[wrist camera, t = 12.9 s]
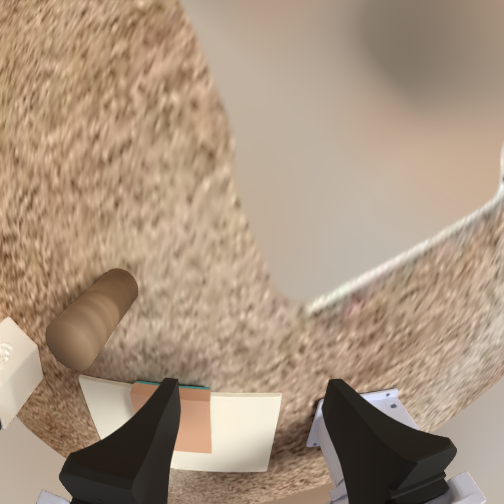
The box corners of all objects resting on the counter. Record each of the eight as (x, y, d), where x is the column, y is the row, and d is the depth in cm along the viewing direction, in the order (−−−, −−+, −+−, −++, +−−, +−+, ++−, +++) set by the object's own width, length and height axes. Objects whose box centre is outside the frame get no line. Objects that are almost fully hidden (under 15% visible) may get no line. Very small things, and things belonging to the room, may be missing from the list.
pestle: (136, 269, 21) (86, 325, 12) (139, 307, 22) (98, 374, 13) (100, 267, 21) (39, 317, 12) (104, 303, 22) (53, 364, 13)
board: (280, 392, 25) (281, 396, 24) (266, 467, 28) (266, 471, 28) (80, 374, 23) (78, 377, 23) (110, 453, 27) (109, 456, 26)
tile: (210, 401, 22) (211, 453, 23) (210, 386, 23) (212, 439, 25) (129, 393, 21) (144, 446, 23) (135, 379, 23) (147, 433, 25)
